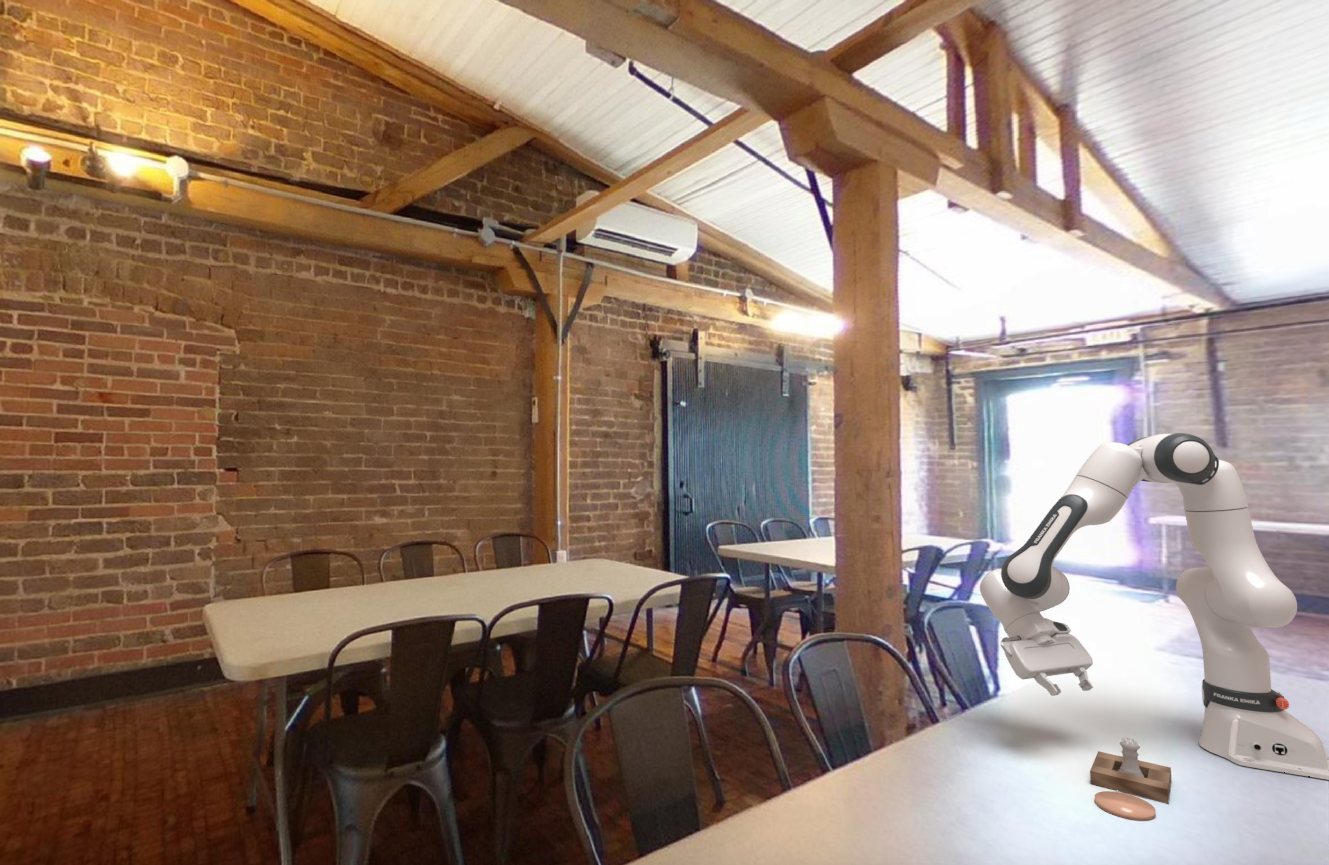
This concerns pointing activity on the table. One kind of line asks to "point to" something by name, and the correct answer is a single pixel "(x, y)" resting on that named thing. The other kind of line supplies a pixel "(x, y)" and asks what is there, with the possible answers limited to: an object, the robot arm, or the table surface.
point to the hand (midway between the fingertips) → (1073, 691)
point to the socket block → (1132, 777)
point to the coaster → (1125, 805)
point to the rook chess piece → (1130, 757)
